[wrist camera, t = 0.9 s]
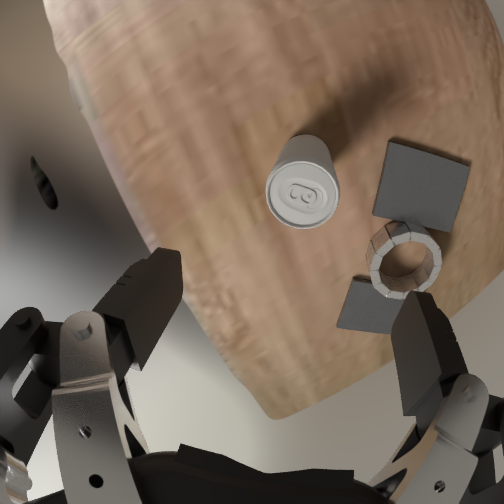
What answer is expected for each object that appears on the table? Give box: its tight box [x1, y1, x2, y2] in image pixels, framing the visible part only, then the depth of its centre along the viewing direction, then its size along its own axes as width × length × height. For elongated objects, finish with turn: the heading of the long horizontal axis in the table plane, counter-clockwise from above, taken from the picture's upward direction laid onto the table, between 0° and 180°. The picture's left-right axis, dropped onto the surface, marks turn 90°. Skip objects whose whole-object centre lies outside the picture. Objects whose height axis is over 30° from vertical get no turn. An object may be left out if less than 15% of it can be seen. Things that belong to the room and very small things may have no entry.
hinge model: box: [337, 141, 470, 334], centre depth 29 cm, size 25×10×3 cm, turn 176°
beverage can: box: [266, 135, 340, 229], centre depth 23 cm, size 5×5×12 cm
